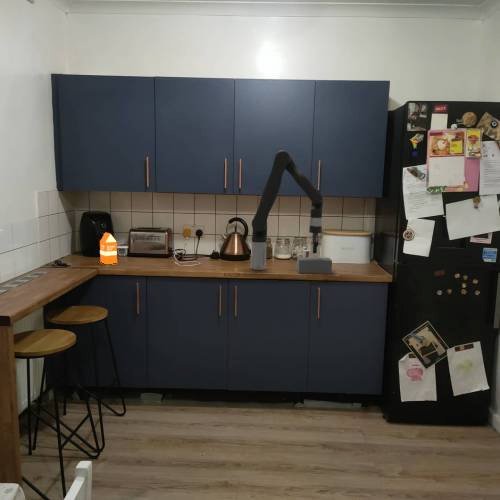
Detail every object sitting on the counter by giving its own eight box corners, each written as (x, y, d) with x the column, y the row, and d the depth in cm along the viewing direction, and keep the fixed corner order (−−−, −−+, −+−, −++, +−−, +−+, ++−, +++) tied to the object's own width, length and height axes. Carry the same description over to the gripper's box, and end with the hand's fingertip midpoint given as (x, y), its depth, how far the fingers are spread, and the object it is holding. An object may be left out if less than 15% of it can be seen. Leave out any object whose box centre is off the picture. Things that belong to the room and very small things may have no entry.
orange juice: (105, 265, 293) (104, 234, 290) (100, 263, 299) (99, 232, 296) (117, 263, 298) (116, 233, 294) (111, 261, 304) (111, 231, 301)
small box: (305, 266, 299) (305, 250, 297) (301, 265, 304) (302, 249, 303) (316, 266, 301) (317, 250, 300) (313, 264, 306) (313, 249, 305)
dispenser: (298, 273, 279) (299, 259, 277) (296, 269, 289) (297, 256, 287) (331, 273, 279) (332, 259, 278) (328, 270, 289) (328, 256, 288)
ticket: (307, 264, 283) (311, 242, 280) (307, 263, 284) (310, 241, 282) (317, 265, 283) (320, 243, 281) (317, 264, 284) (320, 243, 282)
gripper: (307, 223, 286) (306, 251, 289) (311, 226, 273) (310, 254, 275) (319, 224, 286) (318, 251, 289) (323, 226, 273) (322, 255, 276)
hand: (314, 253), depth 282 cm, fingers closed on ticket, 1 cm apart
